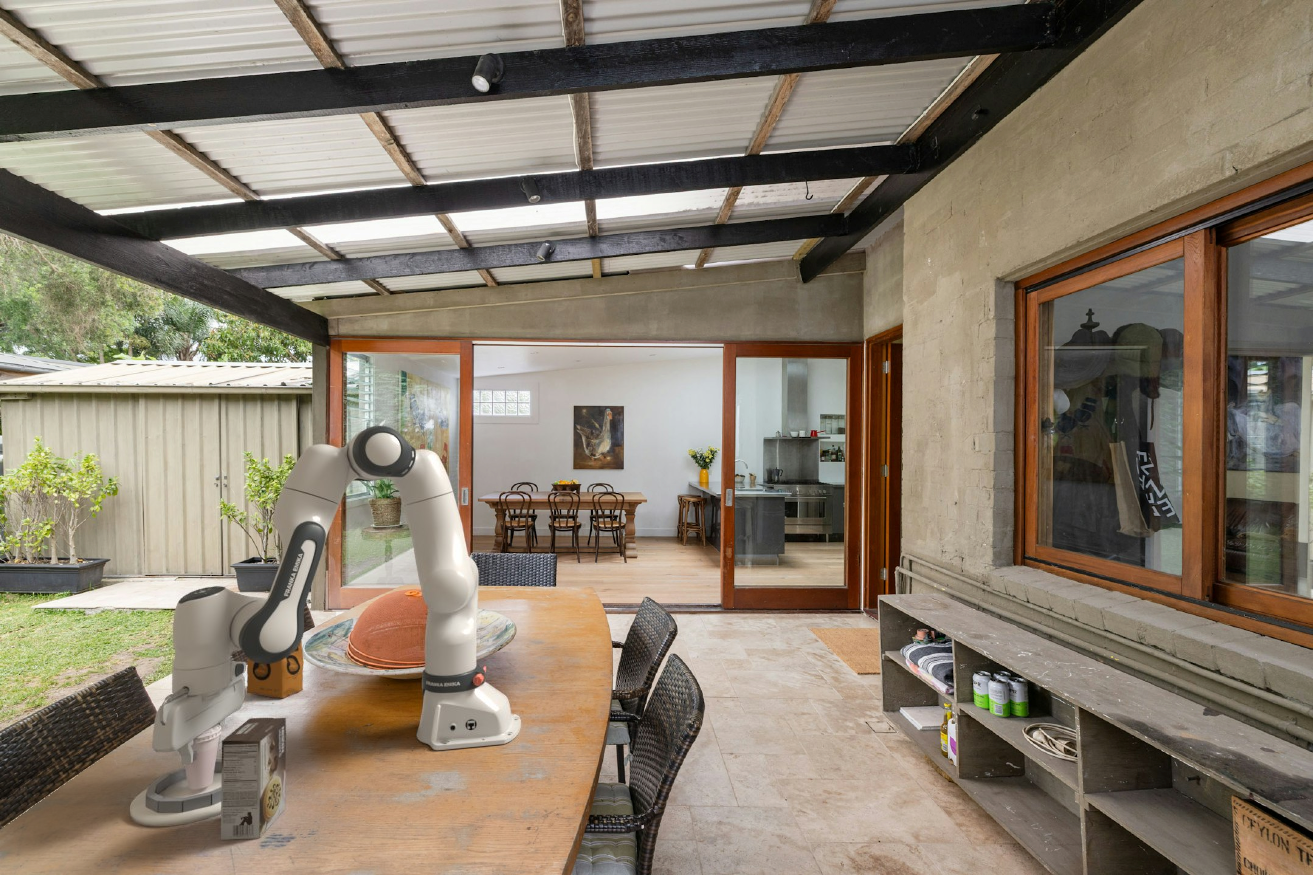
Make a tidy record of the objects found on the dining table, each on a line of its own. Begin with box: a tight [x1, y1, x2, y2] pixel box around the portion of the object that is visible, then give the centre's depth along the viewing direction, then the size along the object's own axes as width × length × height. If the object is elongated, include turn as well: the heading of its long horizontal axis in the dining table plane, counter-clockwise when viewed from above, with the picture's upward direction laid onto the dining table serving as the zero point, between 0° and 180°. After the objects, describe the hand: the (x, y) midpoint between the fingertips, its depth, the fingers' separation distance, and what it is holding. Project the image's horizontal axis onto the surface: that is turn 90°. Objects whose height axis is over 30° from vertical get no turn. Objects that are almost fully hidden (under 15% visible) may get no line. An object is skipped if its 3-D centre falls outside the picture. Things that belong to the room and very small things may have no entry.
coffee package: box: [246, 639, 305, 699], centre depth 171 cm, size 10×12×22 cm
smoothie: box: [184, 724, 223, 790], centre depth 120 cm, size 6×6×14 cm
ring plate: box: [129, 758, 222, 828], centre depth 120 cm, size 20×20×3 cm
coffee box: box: [220, 717, 287, 841], centre depth 111 cm, size 9×6×16 cm
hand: (201, 754), depth 120 cm, fingers closed on smoothie, 5 cm apart
